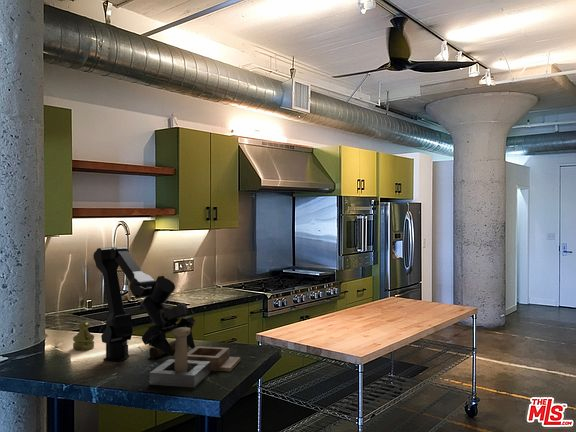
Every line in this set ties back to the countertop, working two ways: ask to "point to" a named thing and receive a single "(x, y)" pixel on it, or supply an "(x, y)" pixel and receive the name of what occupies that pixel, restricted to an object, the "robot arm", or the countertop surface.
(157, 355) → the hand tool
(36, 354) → the countertop surface
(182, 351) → the handle
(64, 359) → the countertop surface
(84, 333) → the olive green tiered piece
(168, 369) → the socket block
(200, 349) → the tan piece
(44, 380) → the countertop surface
